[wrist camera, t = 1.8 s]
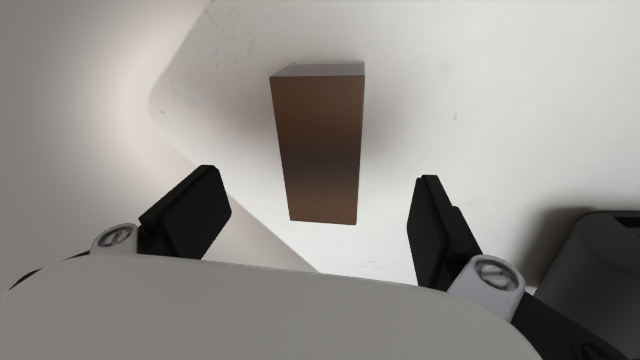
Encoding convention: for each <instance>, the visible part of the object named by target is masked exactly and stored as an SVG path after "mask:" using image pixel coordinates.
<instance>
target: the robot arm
mask: <svg viewBox="0 0 640 360" xmlns="http://www.w3.org/2000/svg"><path fill="white" fill-rule="evenodd" d="M231 213H232V212H231V208H230V204H229V201H228V198H227V195H226V191H225V188H224V185H223V182H222V178H221V175H220V172H219V170H218V169H217V168H216V167H215V166H214V165H200V166H199V167H198V168H197V169H195V170H194V171H193V172H192V173H191V174H190V175H188V176H187V177H186V178H185V179H184V180H182V181H181V182H180V183H179V184H178V185H177V186H176V187H174V188H173V189H172V190H171V191H170V192H168V193H167V194H166V195H165V196H164V197H162V198H161V199H160V200H159V201H158V202H157V203H155V204H154V205H153V206H152V207H151V208H150V209H148V210H147V211H146V212H145V213H144V214H143V215H141V216H140V217H139V218H138V219H139V221H140V223H141V225H140V226H139V227H137V225H135V224H133V223H124V224H119V225H116V226H114V227H111V228H109V229H107V230H105V231H104V232H102V233H101V234H100V235H98V236H97V237H96V238H95V240H94V241H93V243H92V246H91V249H90V250H89V251H87V252H84V253H81V254H78V255H76V256H73V257H70V258H68V259H65V260H62V261H60V262H57V263H54V264H51V265H49V266H47V267H44V268H41V269H39V270H36V271H33V272H30V273H28V274H27V275H25V276H23V277H22V278H21V279H20V280H18V282H17V283H16V284H14V285H13V286H12V287H11V288H10V289H9V291H8V292H7V293H5V294H4V295H2V296H0V360H630V359H628V358H627V357H626V356H625V355H624V354H623V353H622V352H621V351H619V350H618V349H616V348H615V347H614V346H612V345H611V344H609V343H608V342H606V341H605V340H603V339H601V338H600V337H598V336H597V335H595V334H593V333H592V332H590V331H589V330H587V329H585V328H584V327H582V326H581V325H579V324H577V323H576V322H574V321H572V320H571V319H569V318H568V317H566V316H564V315H563V314H561V313H560V312H558V311H556V310H555V309H553V308H552V307H550V306H548V305H547V304H545V303H543V302H542V301H540V300H539V299H537V298H535V297H534V296H532V295H531V294H529V293H527V292H526V291H525V287H526V283H525V280H524V278H523V276H522V275H521V274H520V272H519V271H518V270H517V269H516V268H515V267H513V266H512V265H511V264H509V263H508V262H506V261H504V260H502V259H500V258H498V257H495V256H491V255H483V253H482V251H481V249H480V247H479V245H478V243H477V242H476V240H475V238H474V236H473V234H472V232H471V230H470V228H469V226H468V224H467V222H466V221H465V219H464V217H463V215H462V213H461V211H460V209H459V208H458V207H456V206H452V204H451V202H450V200H449V198H448V196H447V194H446V192H445V190H444V188H443V186H442V184H441V182H440V180H439V178H438V176H437V175H422V176H421V178H417V179H416V184H415V188H414V193H413V198H412V202H411V207H410V212H409V217H408V221H407V234H408V239H409V244H410V248H411V253H412V258H413V262H414V267H415V272H416V277H417V281H418V286H415V285H409V284H403V283H396V282H388V281H381V280H373V279H365V278H358V277H349V276H341V275H332V274H323V273H314V272H306V271H297V270H288V269H279V268H270V267H261V266H252V265H243V264H234V263H224V262H215V261H206V260H201V259H202V257H203V256H204V254H205V253H206V252H207V250H208V248H209V247H210V246H211V244H212V243H213V241H214V240H215V239H216V237H217V236H218V234H219V233H220V231H221V230H222V229H223V227H224V226H225V224H226V223H227V222H228V220H229V219H230V217H231Z"/></svg>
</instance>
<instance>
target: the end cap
mask: <svg viewBox="0 0 640 360" xmlns="http://www.w3.org/2000/svg"><path fill="white" fill-rule="evenodd" d="M533 296H534V297H535V298H537V299H539V300H540V301H542V302H543V303H545V304H547V305H548V306H550V307H552V308H553V309H555V310H556V311H558V312H560V313H561V314H563V315H564V316H566V317H568V318H569V319H571V320H572V321H574V322H576V323H577V324H579V325H581V326H582V327H584V328H585V329H587V330H589V331H590V332H592V333H593V334H595V335H597V336H598V337H600V338H601V339H603V340H605V341H606V342H608V343H609V344H611V345H612V346H614V347H615V348H616V349H618V350H619V351H621V352H622V353H623V354H624V355H625V356H626V357H627V358H628V359H630V360H640V211H598V212H592V213H587V214H585V215H584V216H583V217H582V218H580V219H579V220H578V222H577V223H576V224H575V225H574V227H573V229H572V231H571V232H570V234H569V236H568V237H567V239H566V241H565V242H564V244H563V246H562V247H561V249H560V251H559V252H558V254H557V256H556V257H555V259H554V261H553V263H552V264H551V266H550V268H549V269H548V271H547V273H546V274H545V276H544V278H543V279H542V281H541V283H540V284H539V286H538V288H537V290H536V291H535V293H534V295H533Z"/></svg>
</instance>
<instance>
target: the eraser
mask: <svg viewBox="0 0 640 360" xmlns="http://www.w3.org/2000/svg"><path fill="white" fill-rule="evenodd" d="M269 79H270V86H271V93H272V100H273V107H274V113H275V120H276V127H277V134H278V141H279V147H280V154H281V161H282V168H283V175H284V181H285V188H286V195H287V202H288V209H289V215H290V220H291V221H304V222H317V223H331V224H344V225H356V221H357V204H358V187H359V170H360V154H361V137H362V120H363V103H364V86H365V62H364V61H355V62H313V63H292V64H291V65H289V66H287V67H286V68H284V69H282V70H281V71H279V72H277V73H276V74H274V75H272V76H270V78H269Z"/></svg>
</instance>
